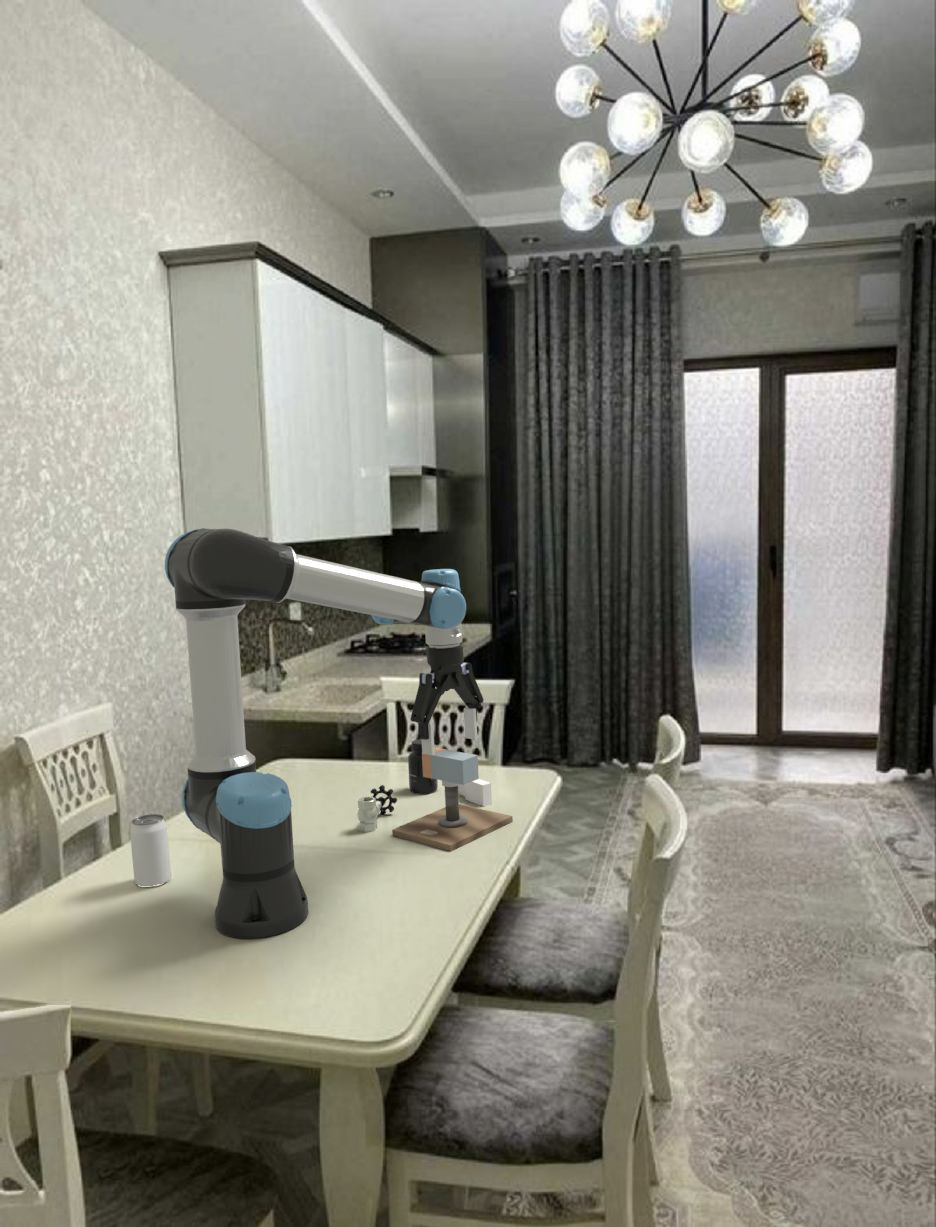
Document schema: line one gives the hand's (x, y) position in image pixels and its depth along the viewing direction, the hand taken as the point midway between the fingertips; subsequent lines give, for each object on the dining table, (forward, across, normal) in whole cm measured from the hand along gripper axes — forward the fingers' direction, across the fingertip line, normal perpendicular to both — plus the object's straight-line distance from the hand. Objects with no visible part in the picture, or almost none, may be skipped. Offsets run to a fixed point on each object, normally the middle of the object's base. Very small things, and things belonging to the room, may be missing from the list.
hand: (450, 746), depth 189 cm
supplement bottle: (+18, +16, +23) cm, 33 cm away
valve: (+18, -7, +17) cm, 25 cm away
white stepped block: (+18, +18, +9) cm, 27 cm away
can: (+17, -52, +29) cm, 62 cm away
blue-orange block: (+8, 0, 0) cm, 8 cm away
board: (+18, 0, 0) cm, 18 cm away
